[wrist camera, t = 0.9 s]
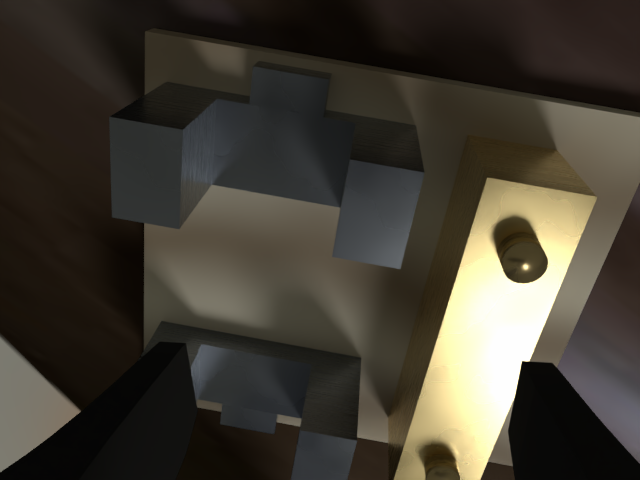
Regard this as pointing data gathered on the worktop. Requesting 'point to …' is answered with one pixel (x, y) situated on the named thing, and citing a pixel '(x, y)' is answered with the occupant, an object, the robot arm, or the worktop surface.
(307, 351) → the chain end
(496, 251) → the master link
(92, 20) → the worktop surface
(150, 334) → the jig board
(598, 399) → the worktop surface
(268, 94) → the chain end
